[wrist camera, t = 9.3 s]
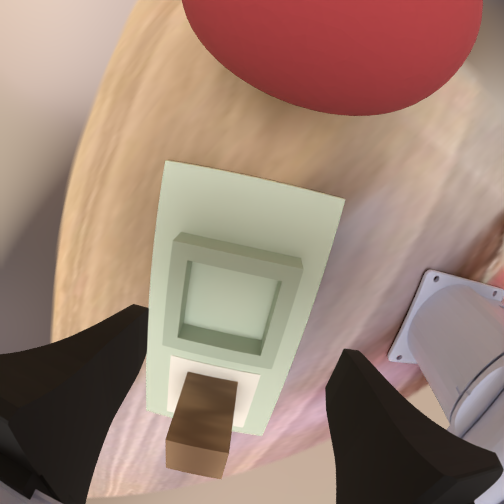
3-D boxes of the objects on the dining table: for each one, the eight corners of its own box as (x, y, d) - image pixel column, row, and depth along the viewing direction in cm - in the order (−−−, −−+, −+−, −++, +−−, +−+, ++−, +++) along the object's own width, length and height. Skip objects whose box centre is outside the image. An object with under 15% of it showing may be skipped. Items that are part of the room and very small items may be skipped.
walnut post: (238, 381, 23) (228, 453, 16) (230, 412, 24) (221, 479, 18) (187, 371, 23) (165, 439, 16) (184, 403, 24) (166, 467, 17)
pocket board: (342, 198, 18) (352, 205, 16) (262, 431, 26) (261, 450, 24) (168, 159, 18) (155, 162, 16) (148, 406, 26) (140, 424, 23)
